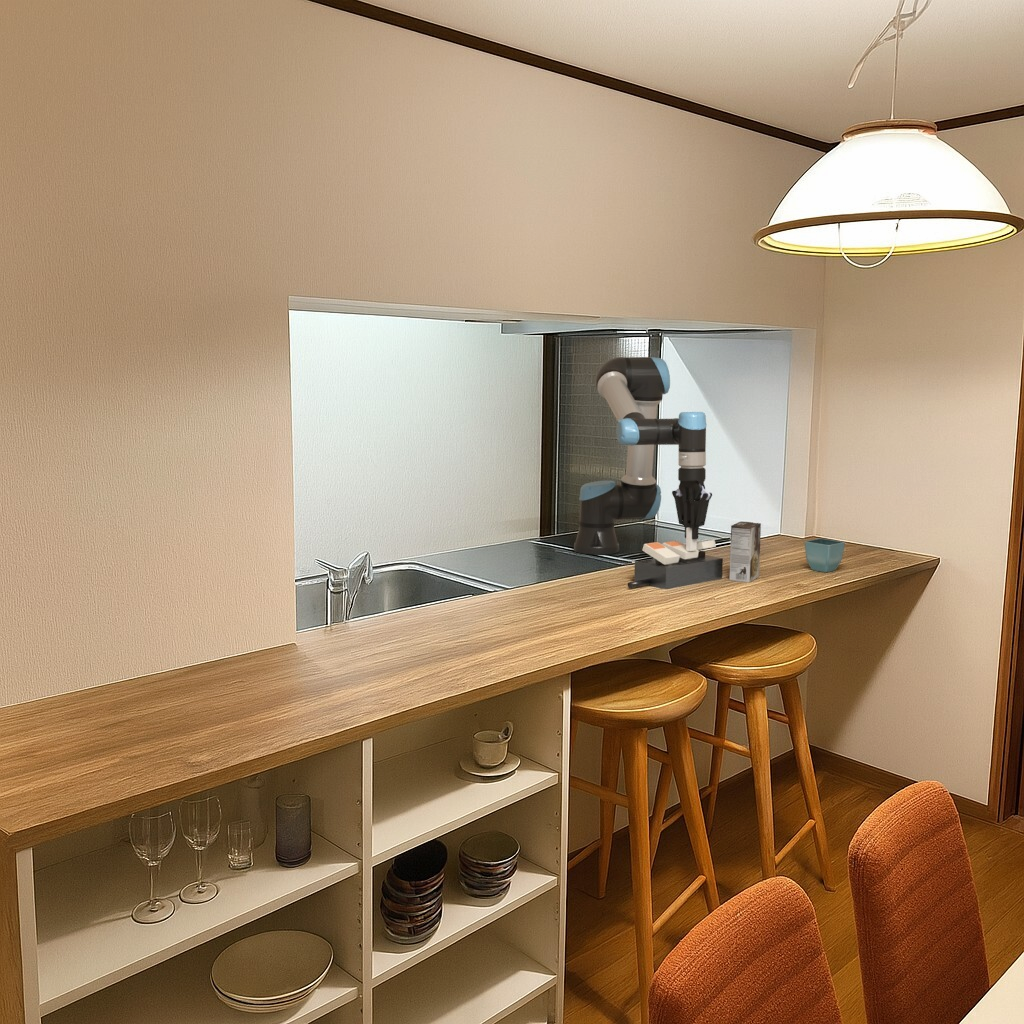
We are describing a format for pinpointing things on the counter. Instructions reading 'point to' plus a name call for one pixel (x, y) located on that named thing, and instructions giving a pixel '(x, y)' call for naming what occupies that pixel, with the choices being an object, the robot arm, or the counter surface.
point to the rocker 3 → (706, 545)
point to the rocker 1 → (661, 553)
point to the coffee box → (745, 551)
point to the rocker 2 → (680, 550)
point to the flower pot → (824, 554)
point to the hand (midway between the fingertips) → (691, 550)
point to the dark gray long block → (677, 572)
